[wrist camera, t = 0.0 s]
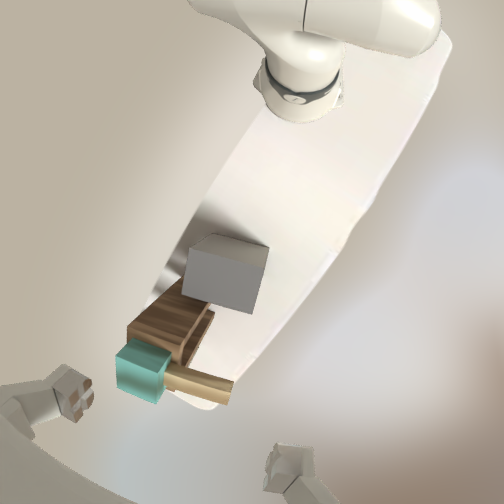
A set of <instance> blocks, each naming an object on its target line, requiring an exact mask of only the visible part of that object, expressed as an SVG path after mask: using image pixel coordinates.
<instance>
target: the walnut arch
mask: <svg viewBox="0 0 504 504" xmlns="http://www.w3.org/2000/svg"><path fill="white" fill-rule="evenodd" d="M184 275H185V274H184ZM184 275H183V276H182V277H181V278H180V279H179V280H178V281H177V282H175V283H174V284H173V285H172V286H171V287H170V288H169V289H168V290H166V291H165V292H164V293H163V294H162V295H161V296H160V297H159V298H158V299H156V300H155V301H154V302H153V303H152V304H151V305H150V306H149V307H148V308H147V309H145V310H144V311H143V312H142V313H141V314H140V315H139V316H138V317H137V318H136V319H135V320H133V321H132V322H131V323H130V324H129V325H128V326H127V343H128V342H129V341H130V340H131V339H132V338H135V339H138V340H140V341H143V342H146V343H148V344H151V345H153V346H156V347H159V348H162V349H164V350H167V351H170V352H172V355H171V362H173V363H175V364H178V365H181V366H184V367H188V365H189V363H190V361H191V360H192V358H193V356H194V354H195V352H196V350H197V348H198V347H199V345H200V343H201V341H202V339H203V337H204V335H205V334H206V332H207V330H208V328H209V326H210V324H211V322H212V320H213V319H214V314H215V312H211V311H208V310H207V309H208V307H209V306H210V304H211V303H209V302H205V301H202V300H199V299H195V298H192V297H189V296H186V295H182V294H181V293H182V287H183V281H184ZM165 389H167V390H170V391H173V392H174V391H175V390H176V389H173V388H170V387H166V388H165Z"/></svg>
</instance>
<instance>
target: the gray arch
mask: <svg viewBox="0 0 504 504" xmlns="http://www.w3.org/2000/svg"><path fill="white" fill-rule="evenodd" d="M268 252H269V248H268V247H264V246H260V245H257V244H253V243H249V242H245V241H241V240H238V239H234V238H230V237H226V236H222V235H218V234H215V233H212V234H211V235H209V236H207V237H206V238H204V239H203V240H201V241H199V242H198V243H196V244H195V245H193V246H192V247H190V248H189V253H188V258H187V264H186V269H185V275H184V281H183V287H182V293H181V294H182V295H186V296H189V297H192V298H195V299H199V300H202V301H205V302H209V303H212V304H216V305H219V306H223V307H226V308H230V309H233V310H237V311H241V312H244V313H248V314H252V313H253V310H254V306H255V302H256V299H257V295H258V291H259V288H260V284H261V280H262V277H263V273H264V269H265V265H266V261H267V257H268Z"/></svg>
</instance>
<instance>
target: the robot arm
mask: <svg viewBox="0 0 504 504" xmlns="http://www.w3.org/2000/svg"><path fill="white" fill-rule="evenodd" d="M187 1H188V2H189V4H190V5H191V6H192V7H193V8H194V9H195V10H196V11H197V12H199V13H202V14H205V15H208V16H211V17H215V18H217V19H220V20H223V21H225V22H227V23H229V24H231V25H233V26H235V27H236V28H238V29H240V30H241V31H243V32H244V33H246V34H247V35H249V36H250V37H251V38H252V39H253V40H255V41H256V42H257V43H258V44H259V45H260V46H261V47H262V48H263V49H264V51H265V54H266V58H263V60H262V65H261V67H260V69H259V71H258V73H257V74H256V76H255V78H254V80H253V85H254V87H255V88H256V89H257V90H258V91H259V92H261V93H262V95H263V97H264V99H265V102H266V104H267V105H268V107H269V108H270V110H271V111H272V112H273V113H275V114H276V115H277V116H279V117H280V118H282V119H284V120H287V121H290V122H294V123H308V122H312V121H315V120H317V119H319V118H321V117H322V116H324V115H325V114H326V113H327V112H329V111H330V110H334V109H338V108H340V107H342V106H343V104H344V81H343V59H344V57H345V52H346V47H345V42H347V43H350V44H353V45H356V46H359V47H362V48H365V49H369V50H374V51H378V52H383V53H387V54H392V55H396V56H401V57H405V58H413V57H415V56H418V55H420V54H422V53H424V52H425V51H427V50H428V49H429V48H430V47H431V46H432V45H433V44H434V43H435V41H436V40H437V38H438V36H439V33H440V30H441V24H442V18H441V11H440V7H439V4H438V1H437V0H187ZM338 97H340V98H338ZM91 385H92V381H91V379H89V378H88V377H86V376H84V375H82V374H81V373H79V372H77V371H76V370H74V369H72V368H71V367H69V366H67V365H66V364H62V365H61V366H60V367H58V368H57V369H56V370H55V371H54V372H52V373H51V374H50V375H49V376H48V377H47V378H46V379H45V380H43V381H42V380H36V381H30V382H23V383H16V384H9V385H2V386H0V504H137V503H135V502H133V501H130V500H128V499H126V498H124V497H121V496H119V495H117V494H115V493H113V492H111V491H109V490H107V489H105V488H103V487H101V486H99V485H97V484H95V483H94V482H92V481H90V480H88V479H87V478H85V477H83V476H82V475H80V474H78V473H77V472H75V471H73V470H72V469H70V468H68V467H67V466H65V465H64V464H62V463H61V462H59V461H58V460H57V459H55V458H54V457H52V456H51V455H49V454H48V453H47V452H45V451H44V450H43V449H41V448H40V447H39V446H37V445H36V444H35V443H33V442H32V440H33V438H35V434H34V432H33V430H32V428H31V426H33V425H36V424H39V423H42V422H45V421H48V420H51V419H54V418H56V417H59V416H61V415H63V416H64V417H66V418H67V419H69V420H71V421H73V422H74V423H77V422H78V421H79V419H80V418H81V417H82V416H83V410H86V409H88V408H89V407H90V406H91V405H92V402H93V399H94V393H93V390H92V389H91V388H90V387H91ZM265 471H266V473H267V475H266V477H265V479H264V485H263V491H267V492H273V493H280V494H283V496H284V498H285V500H286V501H287V503H288V504H341V503H340V502H339V501H338V499H337V498H336V497H335V496H334V495H333V494H332V493H331V492H330V490H329V489H328V488H327V487H326V486H325V484H324V483H323V482H322V481H321V480H320V479H319V478H318V477H315V464H314V449H313V447H307V446H300V445H292V444H286V443H279V442H278V443H276V444H275V445H274V449H273V451H272V452H270V454H269V456H268V459H267V462H266V467H265Z"/></svg>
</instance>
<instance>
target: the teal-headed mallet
mask: <svg viewBox="0 0 504 504" xmlns="http://www.w3.org/2000/svg"><path fill="white" fill-rule="evenodd" d="M171 355H172V352H170V351H167V350H164V349H162V348H159V347H156V346H153V345H151V344H148V343H146V342H143V341H140V340H138V339H135V338H132V339H131V340H130V341H129V342H128V343H127V344H126V345H125V346H124V347H123V348H122V349H121V350H120V351H119V353H118V354H117V355H116V377H117V388H119V389H121V390H123V391H126V392H128V393H130V394H132V395H135V396H137V397H139V398H141V399H144V400H146V401H149V402H151V403H154V404H157V402H158V400H159V399H160V397H161V395H162V393H163V392H164V390H165V388H166V387H170V388H173V389H176V390H179V391H181V392H184V393H187V394H190V395H193V396H197V397H200V398H203V399H206V400H210V401H213V402H217V403H220V404H224V405H227V404H228V401H229V397H230V394H231V390H232V387H233V383H234V381H230V380H227V379H223V378H220V377H216V376H213V375H209V374H206V373H203V372H200V371H196V370H193V369H190V368H187V367H184V366H181V365H178V364H175V363H173V362H171Z"/></svg>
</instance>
